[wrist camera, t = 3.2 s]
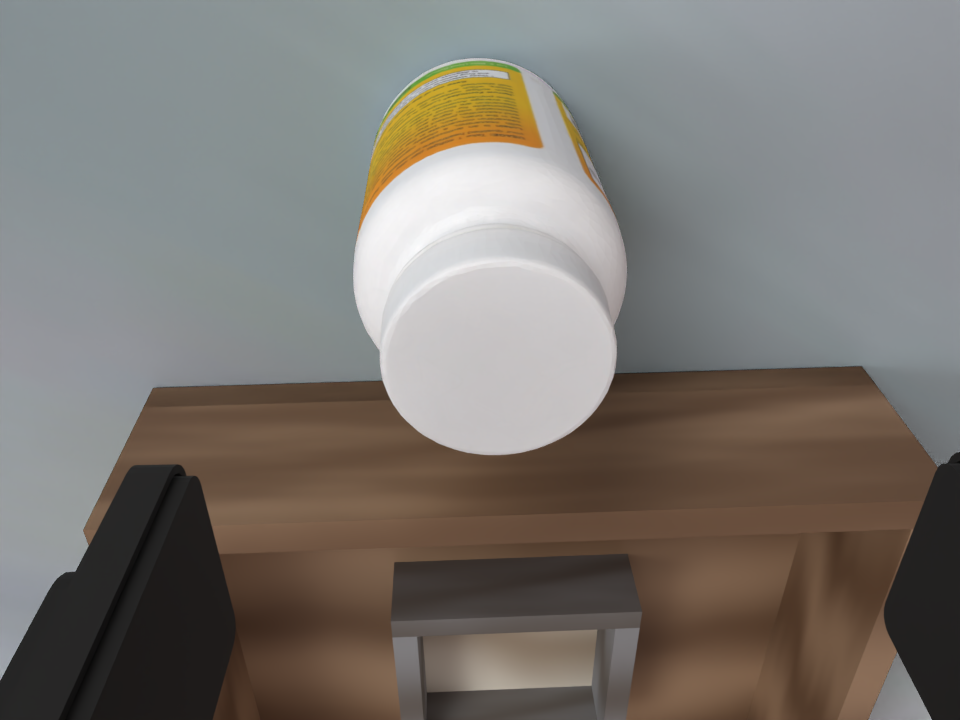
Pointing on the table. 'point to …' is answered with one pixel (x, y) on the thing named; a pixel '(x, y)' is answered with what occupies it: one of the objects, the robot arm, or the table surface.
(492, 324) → the supplement bottle
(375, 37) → the table surface
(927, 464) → the walled box
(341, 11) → the table surface
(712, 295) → the table surface
